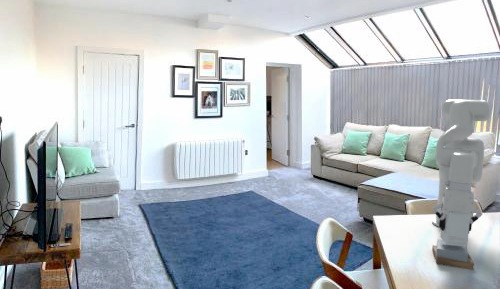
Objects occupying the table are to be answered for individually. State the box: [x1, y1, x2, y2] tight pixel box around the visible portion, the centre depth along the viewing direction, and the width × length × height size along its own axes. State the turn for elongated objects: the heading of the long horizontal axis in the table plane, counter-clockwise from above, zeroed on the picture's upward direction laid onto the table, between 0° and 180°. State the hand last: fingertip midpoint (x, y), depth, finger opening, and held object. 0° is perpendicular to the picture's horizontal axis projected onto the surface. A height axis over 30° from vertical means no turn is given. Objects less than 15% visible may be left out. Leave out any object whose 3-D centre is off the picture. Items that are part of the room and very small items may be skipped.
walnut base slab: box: [431, 244, 475, 271], centre depth 140 cm, size 12×12×3 cm
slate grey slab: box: [436, 238, 469, 262], centre depth 139 cm, size 10×10×3 cm
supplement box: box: [439, 212, 471, 247], centre depth 138 cm, size 7×7×13 cm
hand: (454, 230), depth 138 cm, fingers closed on supplement box, 7 cm apart
